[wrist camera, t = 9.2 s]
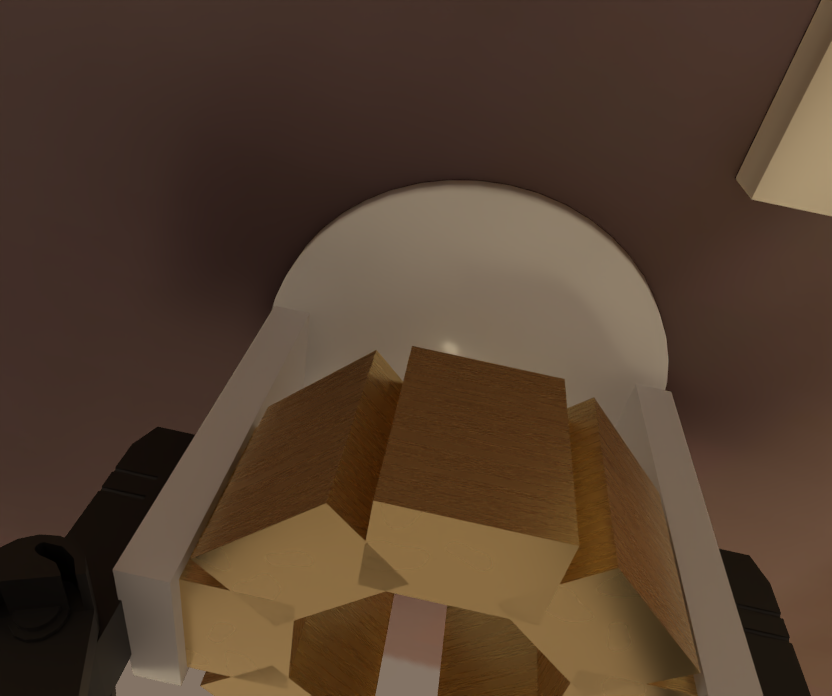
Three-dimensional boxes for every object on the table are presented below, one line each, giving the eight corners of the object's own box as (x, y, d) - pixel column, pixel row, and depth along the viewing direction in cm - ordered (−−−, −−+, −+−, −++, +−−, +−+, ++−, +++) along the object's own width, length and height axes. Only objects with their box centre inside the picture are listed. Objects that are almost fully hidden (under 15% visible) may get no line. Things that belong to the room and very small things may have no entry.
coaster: (269, 457, 18) (262, 473, 17) (282, 137, 12) (273, 146, 12) (587, 526, 18) (589, 544, 17) (736, 233, 12) (745, 247, 12)
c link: (257, 311, 9) (165, 454, 7) (721, 413, 9) (791, 593, 7) (251, 578, 13) (190, 729, 11) (577, 651, 13) (589, 819, 11)
